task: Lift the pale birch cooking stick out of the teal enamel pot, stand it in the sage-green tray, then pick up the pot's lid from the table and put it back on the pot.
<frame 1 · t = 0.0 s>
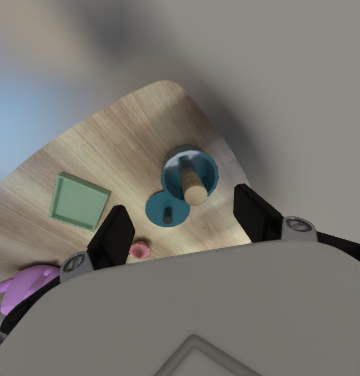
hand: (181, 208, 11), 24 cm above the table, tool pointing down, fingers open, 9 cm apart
tray: (81, 202, 37), on the table
pot lid: (167, 209, 40), point 1 cm above the table
flower: (141, 242, 47), on the table
stick: (186, 169, 34), resting on pot
teapot: (44, 272, 51), on the table
pot: (186, 168, 35), on the table
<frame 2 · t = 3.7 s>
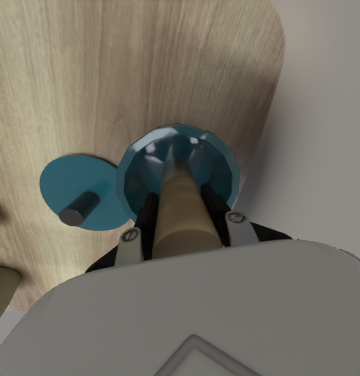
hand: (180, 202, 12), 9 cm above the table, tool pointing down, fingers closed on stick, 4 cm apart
pot lid: (92, 197, 21), point 1 cm above the table
bowl: (7, 272, 28), on the table
stick: (176, 170, 20), point 1 cm above the table, touching gripper, pot
pot: (176, 169, 20), on the table
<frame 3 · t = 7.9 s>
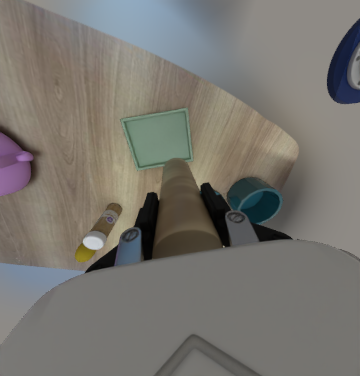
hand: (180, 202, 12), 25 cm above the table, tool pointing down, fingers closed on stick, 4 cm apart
tray: (160, 140, 33), on the table
sprinkles bottle: (115, 208, 42), on the table
lemon: (93, 240, 47), on the table
stick: (176, 170, 20), point 17 cm above the table, touching gripper
pot: (245, 194, 43), on the table
when the fingers open (9 cm above the table, at t = 12.1 s): stick stays where it is, resting on tray.
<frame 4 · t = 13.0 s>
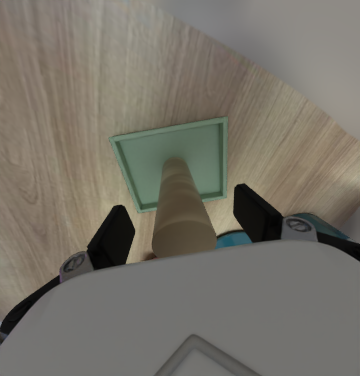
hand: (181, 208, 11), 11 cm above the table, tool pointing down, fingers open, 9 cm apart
tray: (175, 168, 21), on the table
pot lid: (233, 252, 31), point 1 cm above the table
stick: (175, 169, 20), resting on tray
pot: (291, 234, 30), on the table
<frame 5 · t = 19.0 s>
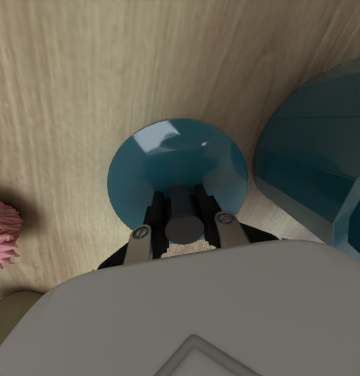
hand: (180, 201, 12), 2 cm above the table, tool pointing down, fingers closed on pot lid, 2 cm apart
pot lid: (179, 194, 13), point 1 cm above the table, touching gripper
bowl: (31, 296, 21), on the table
flower: (10, 211, 14), on the table
pot: (316, 149, 13), on the table
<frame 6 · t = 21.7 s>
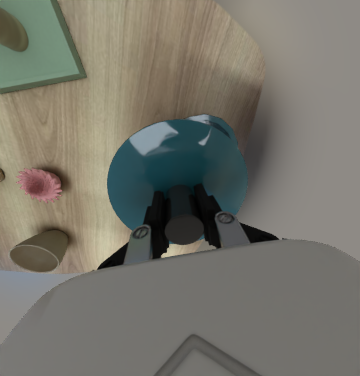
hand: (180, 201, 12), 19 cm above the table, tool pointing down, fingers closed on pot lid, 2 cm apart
tray: (15, 34, 19), on the table
pot lid: (179, 194, 13), point 17 cm above the table, touching gripper
bowl: (58, 235, 37), on the table
flower: (54, 179, 29), on the table
stick: (11, 32, 18), resting on tray
pot: (193, 149, 28), on the table
when the fingers open (9 cm above the table, at t = 24.7 s): pot lid stays where it is, resting on pot.
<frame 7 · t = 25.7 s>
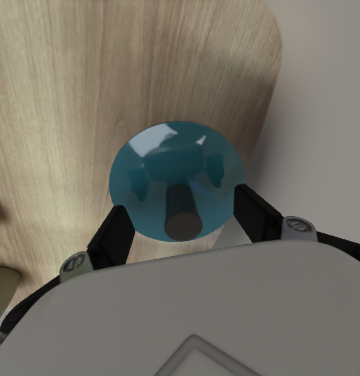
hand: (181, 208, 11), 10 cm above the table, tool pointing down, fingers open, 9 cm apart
pot lid: (179, 193, 14), point 7 cm above the table, touching pot
bowl: (7, 272, 29), on the table
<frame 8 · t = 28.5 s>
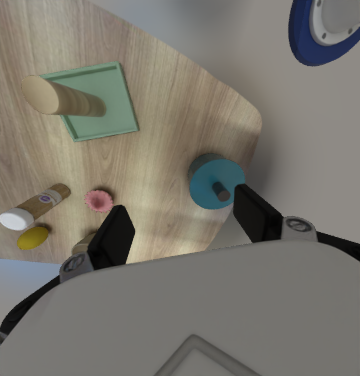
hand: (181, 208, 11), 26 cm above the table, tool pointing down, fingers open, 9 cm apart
tray: (98, 106, 29), on the table
sprinkles bottle: (62, 190, 38), on the table
lemon: (45, 227, 43), on the table
pot lid: (216, 185, 32), point 7 cm above the table, touching pot
bowl: (99, 236, 47), on the table
flower: (105, 195, 39), on the table
stick: (96, 106, 28), resting on tray
pot: (208, 174, 38), on the table
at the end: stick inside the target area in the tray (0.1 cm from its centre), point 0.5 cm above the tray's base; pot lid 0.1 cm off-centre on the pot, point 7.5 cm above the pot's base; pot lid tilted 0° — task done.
